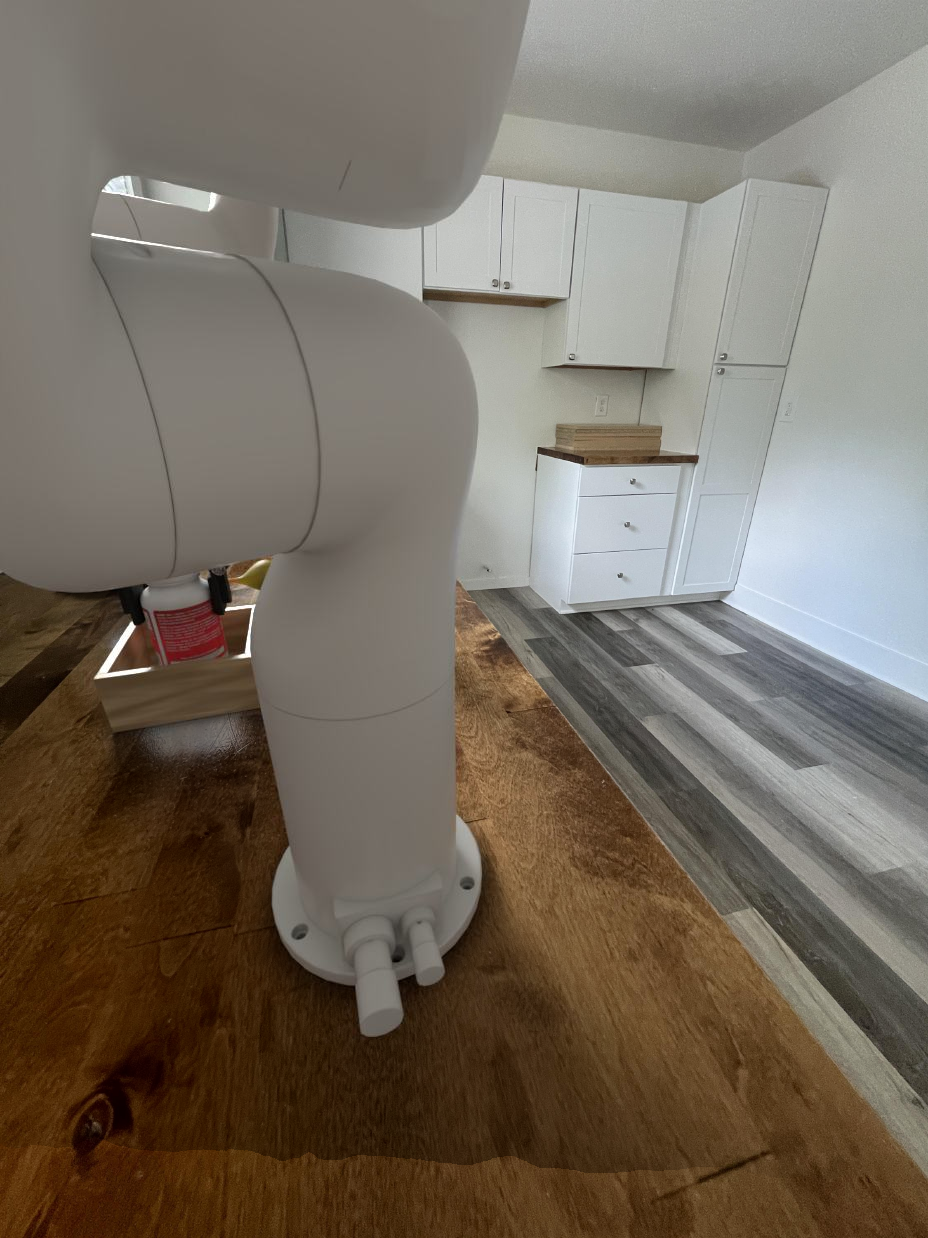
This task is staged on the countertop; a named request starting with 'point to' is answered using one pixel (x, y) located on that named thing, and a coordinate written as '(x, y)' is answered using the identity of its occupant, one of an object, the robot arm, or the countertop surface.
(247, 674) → the holder
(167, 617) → the pill bottle
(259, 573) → the neti pot
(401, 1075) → the countertop surface
